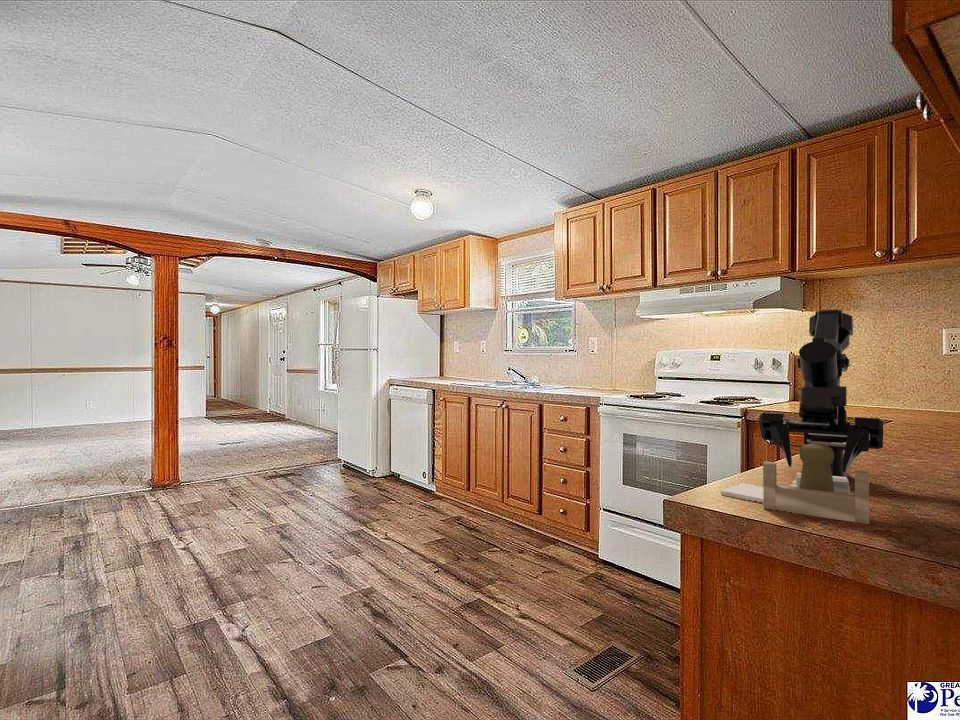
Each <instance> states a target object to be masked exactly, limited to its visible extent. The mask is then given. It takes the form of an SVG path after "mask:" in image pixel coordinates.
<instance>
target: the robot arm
mask: <svg viewBox="0 0 960 720" xmlns="http://www.w3.org/2000/svg"><path fill="white" fill-rule="evenodd" d="M814 313H815V314H814V315H812V316H810V317H809V322H808V323H809V324H808V325H809V328H808V329H809V330H808V332H809V335H810V337H812V340H811V342H807V343H805V344H803V346H801V347H800V349H799V351H798V354H799V355H798V357H797V359H796V360H797V361H796V362H797V368H798V369H799V371H800V372H801V376H802V379H803V387H801V388H800V402H799V408H798V417H799V418H800V420H793V419H792V420H789V419H787V418H785V414H784V412H767V411H766V412H765V411H764V412H762V413H761V414H759V418H758V424H759V430H760V431H759V432H760V435H761V439H762V440H764V441H770V442H772V443H773V444H775V445H778V446H779V447H780V449H781V451H782V452H783V454H784V458H785V461H786V463H787V465H788V468H791V467H792V464H793V458H792V447H791V446H792V445H791V444H792V443H791V438H790V437H791V436H790V433H800V434H803V442H804V444H803V445H806V444H821V445H826V446H829V447H831V448H832V450H833V452H834V461H833V462H832V464H831V471H832V476H839V477H847V478H848V477H849V476H851V473H850V472H847V471H848V469H849V468H850V466H851V465H852V463H853V462H854V461H855V459H856V458H857V457H858V456H859V455H860V454H861V453H862V452H868V451H870V450H871V449H874V450H880V449H883V447H884V421H883V420H882V419H881V418H879V417H865V416H864V417H863V416H855V417H854V425H853V424H852V423H851V421H848V416H847V414H848V413H847V410H846V406H847V397H848V396H847V386H843V385H842V386H841V377H842V376H843V373H844V372H845V373H846V372H847V371H848V368H849V367H851V366H850V365H851V363H850V362H851V361H850V360H851V359H849V358H848V356H847V354H846V353H843V352H844V351H845V350H846V349H847V348H848V346H850V339H851V338H850V336H854V318H853V315H851V314H848V313H845V312H843V310H842V309H838V308H836V309H819V310H818V311H815V312H814Z"/></svg>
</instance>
